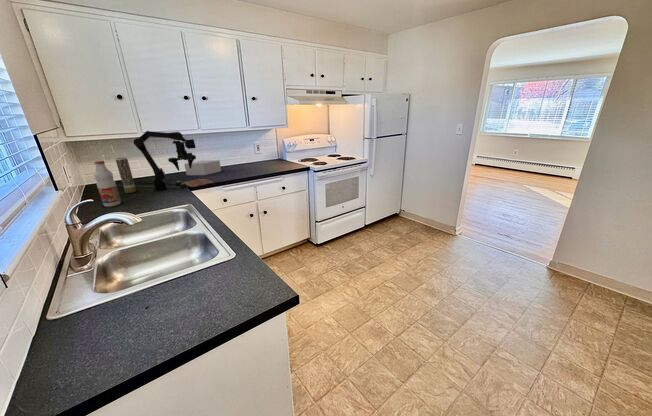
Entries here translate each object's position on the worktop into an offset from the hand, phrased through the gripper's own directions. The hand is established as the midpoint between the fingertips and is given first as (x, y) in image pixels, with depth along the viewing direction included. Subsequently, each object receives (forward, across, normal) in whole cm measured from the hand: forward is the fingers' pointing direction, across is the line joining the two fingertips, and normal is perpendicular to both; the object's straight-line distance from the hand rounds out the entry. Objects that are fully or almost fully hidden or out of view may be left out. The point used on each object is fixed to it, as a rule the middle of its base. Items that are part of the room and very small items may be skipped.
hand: (184, 169), depth 207 cm
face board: (+13, +9, 0) cm, 16 cm away
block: (+13, +31, +27) cm, 43 cm away
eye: (+13, -4, -2) cm, 14 cm away
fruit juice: (+14, -51, -1) cm, 52 cm away
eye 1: (+13, -3, +7) cm, 15 cm away
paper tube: (+13, -33, +19) cm, 40 cm away
